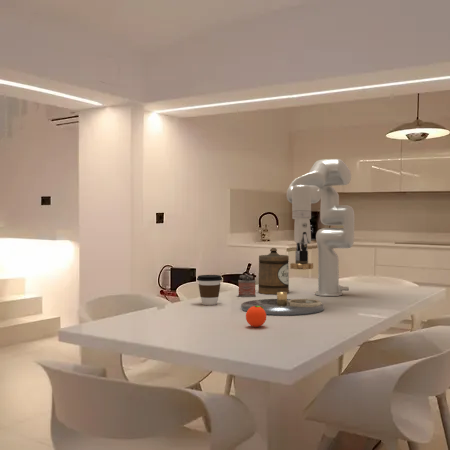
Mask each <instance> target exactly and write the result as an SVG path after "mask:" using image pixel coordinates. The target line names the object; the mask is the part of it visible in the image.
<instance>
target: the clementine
mask: <svg viewBox="0 0 450 450" xmlns="http://www.w3.org/2000/svg"><path fill="white" fill-rule="evenodd" d="M245 320H246V322H247V324H248V325H249V326H250V327H253V328H259V327H261V326H263V325H264V324H265V322H266V320H267V315H266V313H265V311H264V309H263V307H262V306H253V307H251V308H249V309H248V311H247V312H246V313H245Z"/></svg>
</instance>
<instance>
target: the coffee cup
mask: <svg viewBox="0 0 450 450" xmlns="http://www.w3.org/2000/svg"><path fill="white" fill-rule="evenodd" d="M196 280H197V282H198V289H199V295H200V300H201V304H202V305H204V306H214V305H215V306H216V305H217V304H218V301H219V296H220V291H221V290H220V289H221V281H222V280H223V278H222V275H220V274H200V275H198V276H197V278H196Z"/></svg>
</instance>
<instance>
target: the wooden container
mask: <svg viewBox="0 0 450 450" xmlns="http://www.w3.org/2000/svg"><path fill="white" fill-rule="evenodd" d="M269 251H270V253H268V254H264V255H263V254H261V255H258V293H259V294H261V295H275V296H277V292H287V294H289V291H290V290H289V288H290V287H289V286H290V285H289V284H290V275H289V274H290V272H289V271H290V270H289V269H290V268H289V267H290V263H289V262H290V261H289V260H290V259H289V257H290V256H289V255H285V254H279V253H278V249H277V248H276V247H271V248H269Z"/></svg>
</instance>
